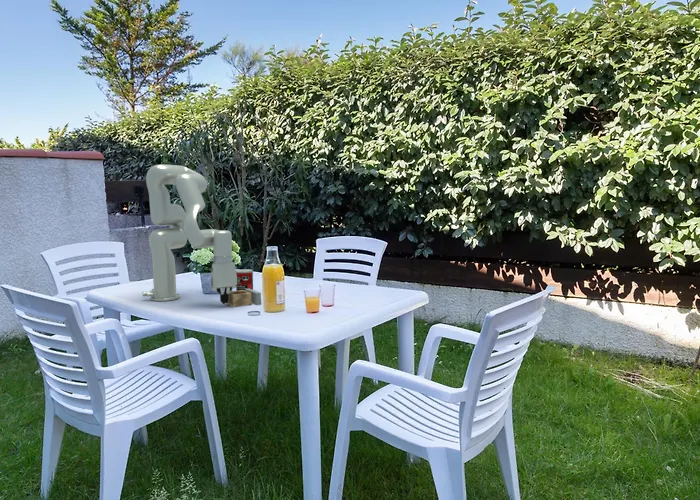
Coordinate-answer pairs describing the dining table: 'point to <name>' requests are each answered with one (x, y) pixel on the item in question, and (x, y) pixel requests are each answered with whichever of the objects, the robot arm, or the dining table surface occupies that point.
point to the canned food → (244, 279)
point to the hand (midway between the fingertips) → (224, 303)
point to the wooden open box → (239, 298)
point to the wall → (254, 296)
